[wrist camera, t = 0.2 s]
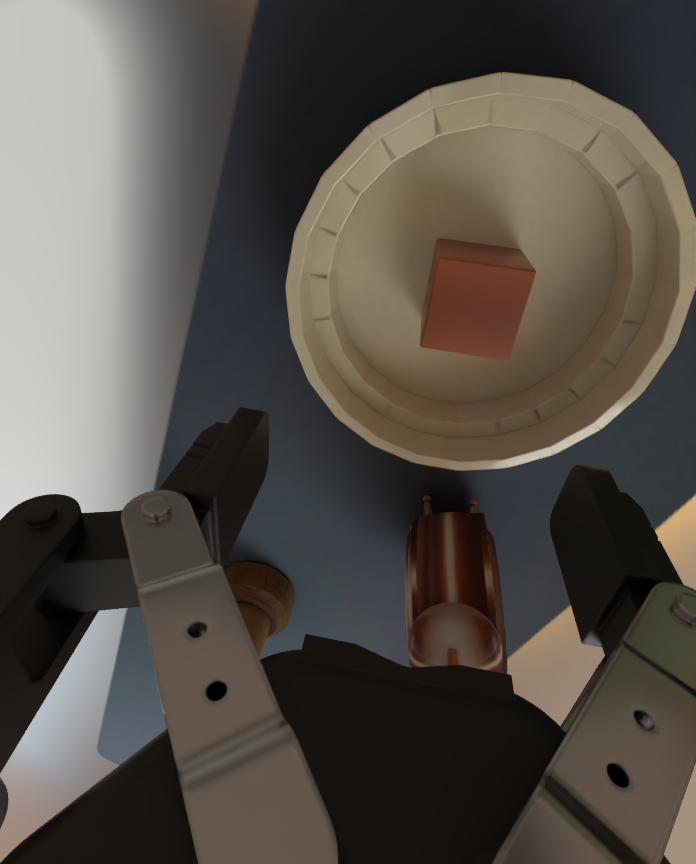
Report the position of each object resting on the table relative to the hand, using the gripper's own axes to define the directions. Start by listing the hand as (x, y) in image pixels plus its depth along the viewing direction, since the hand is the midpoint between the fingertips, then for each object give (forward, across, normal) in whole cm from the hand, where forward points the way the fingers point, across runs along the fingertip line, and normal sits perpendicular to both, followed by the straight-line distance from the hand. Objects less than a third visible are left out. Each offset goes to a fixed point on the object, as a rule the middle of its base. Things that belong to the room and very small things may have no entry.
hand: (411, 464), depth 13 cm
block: (+14, -2, -1) cm, 14 cm away
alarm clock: (+15, -5, +16) cm, 22 cm away
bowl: (+15, -2, -1) cm, 15 cm away
